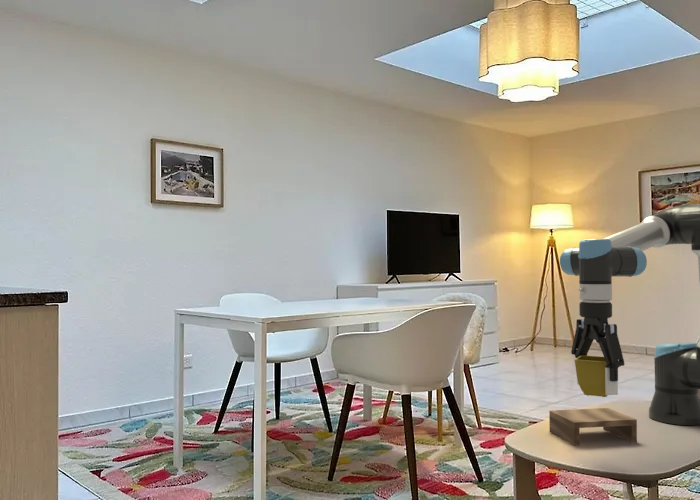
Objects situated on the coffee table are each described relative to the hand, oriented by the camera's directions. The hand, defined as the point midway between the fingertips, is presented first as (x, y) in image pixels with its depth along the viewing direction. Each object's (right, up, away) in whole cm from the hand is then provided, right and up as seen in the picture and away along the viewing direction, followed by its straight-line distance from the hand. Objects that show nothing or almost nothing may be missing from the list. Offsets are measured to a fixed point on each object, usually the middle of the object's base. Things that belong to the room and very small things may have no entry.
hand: (596, 389), depth 152 cm
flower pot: (0, -2, 0) cm, 2 cm away
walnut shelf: (+5, -17, +16) cm, 23 cm away
